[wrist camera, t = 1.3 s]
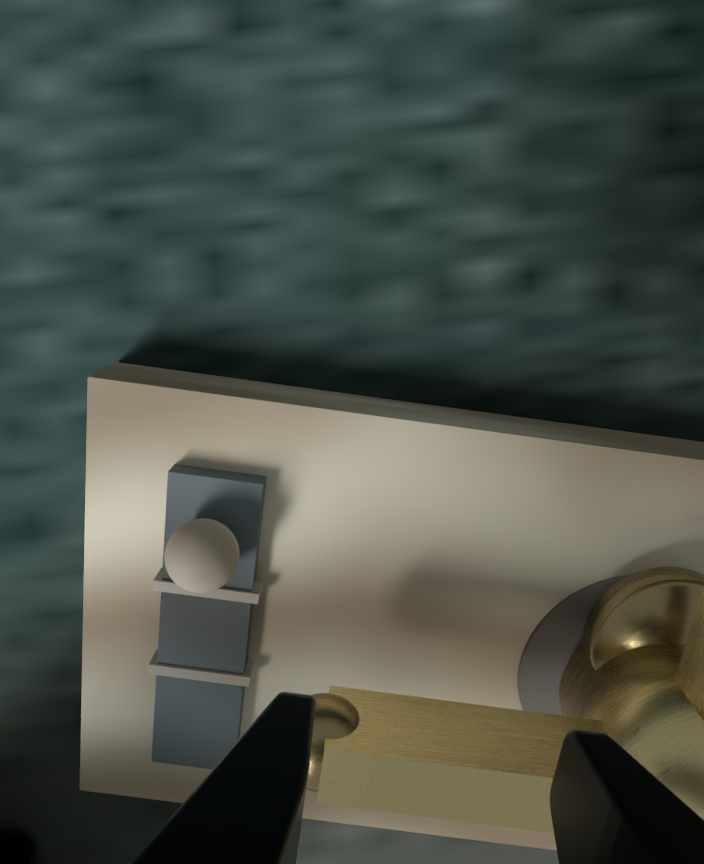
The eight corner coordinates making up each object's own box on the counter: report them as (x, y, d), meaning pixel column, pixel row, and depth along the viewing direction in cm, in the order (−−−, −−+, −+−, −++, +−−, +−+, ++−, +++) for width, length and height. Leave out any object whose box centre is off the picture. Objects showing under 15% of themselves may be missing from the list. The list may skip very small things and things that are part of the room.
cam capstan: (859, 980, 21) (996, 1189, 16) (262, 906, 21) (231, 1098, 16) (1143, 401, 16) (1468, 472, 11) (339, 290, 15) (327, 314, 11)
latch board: (807, 832, 23) (907, 968, 18) (104, 742, 22) (42, 860, 18) (957, 476, 19) (1126, 545, 15) (116, 362, 19) (42, 399, 14)
